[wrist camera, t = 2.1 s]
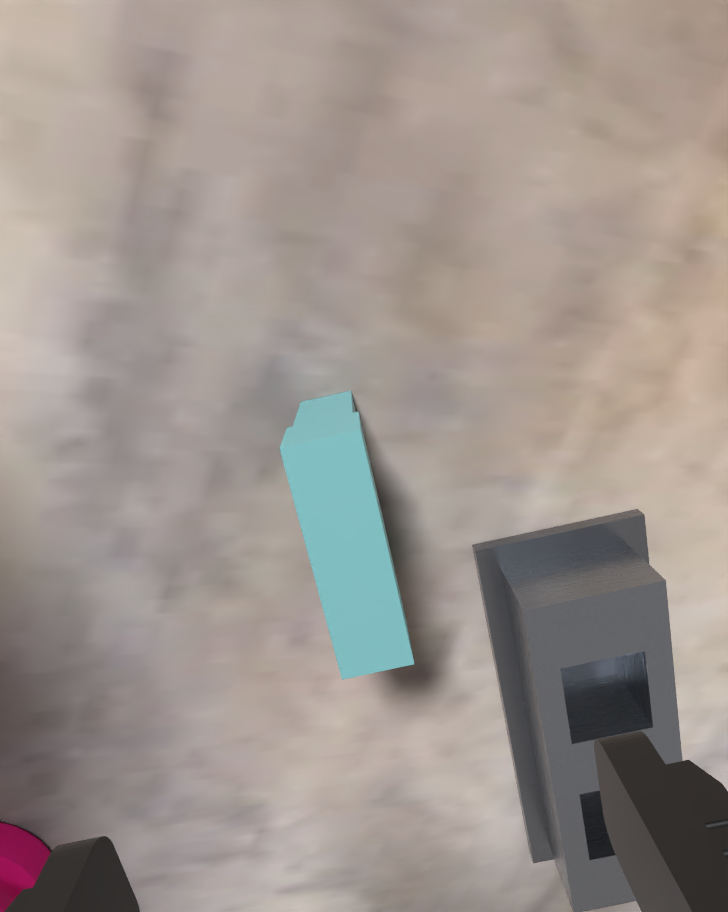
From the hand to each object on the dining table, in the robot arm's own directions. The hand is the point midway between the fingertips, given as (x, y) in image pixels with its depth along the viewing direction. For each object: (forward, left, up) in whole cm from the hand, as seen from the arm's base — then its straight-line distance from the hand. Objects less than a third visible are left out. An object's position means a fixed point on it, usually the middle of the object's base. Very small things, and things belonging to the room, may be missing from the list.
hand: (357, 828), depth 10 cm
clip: (0, 0, -16) cm, 16 cm away
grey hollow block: (+12, +8, -16) cm, 22 cm away
